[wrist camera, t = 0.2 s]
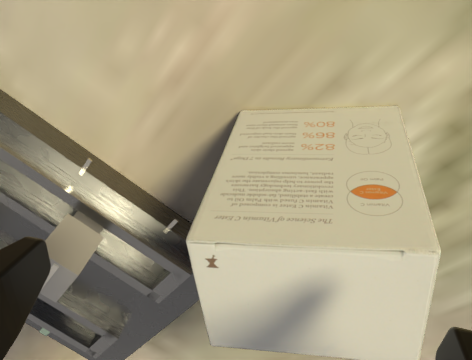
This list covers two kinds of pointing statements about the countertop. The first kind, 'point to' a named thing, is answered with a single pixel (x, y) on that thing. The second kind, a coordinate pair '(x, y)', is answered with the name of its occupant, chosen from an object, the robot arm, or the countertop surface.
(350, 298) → the small box
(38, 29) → the countertop surface
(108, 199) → the panel
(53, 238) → the fader cap grey
